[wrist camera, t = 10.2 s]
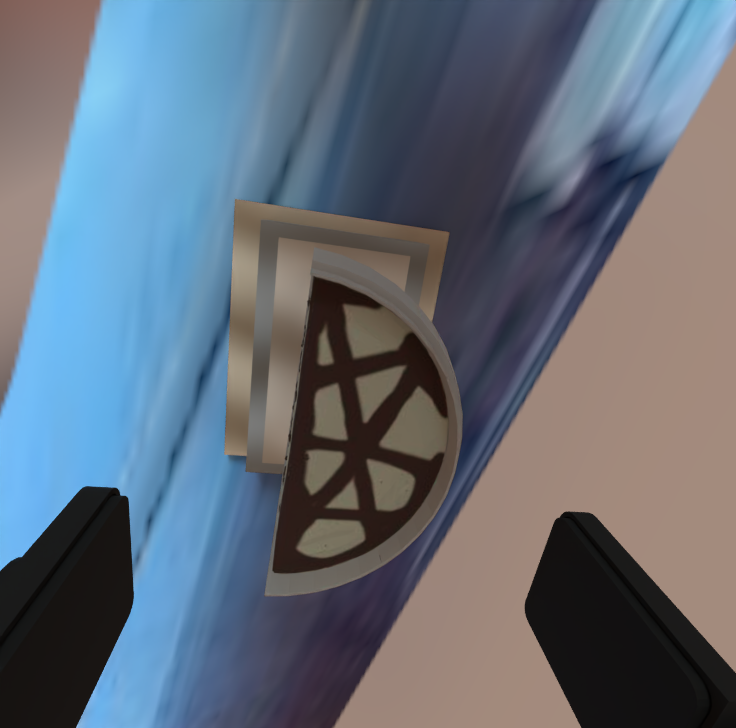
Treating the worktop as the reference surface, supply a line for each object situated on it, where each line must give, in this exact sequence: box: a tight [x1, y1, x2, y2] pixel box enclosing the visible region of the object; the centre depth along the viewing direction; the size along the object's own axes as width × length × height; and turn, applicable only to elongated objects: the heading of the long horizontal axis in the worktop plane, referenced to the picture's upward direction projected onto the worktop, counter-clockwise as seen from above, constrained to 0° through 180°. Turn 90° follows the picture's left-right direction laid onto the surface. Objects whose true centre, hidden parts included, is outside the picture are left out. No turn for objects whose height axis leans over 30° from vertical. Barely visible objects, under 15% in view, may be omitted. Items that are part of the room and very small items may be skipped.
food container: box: [264, 247, 463, 596], centre depth 18 cm, size 12×6×10 cm, turn 169°
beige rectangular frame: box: [224, 199, 450, 474], centre depth 24 cm, size 16×12×4 cm
